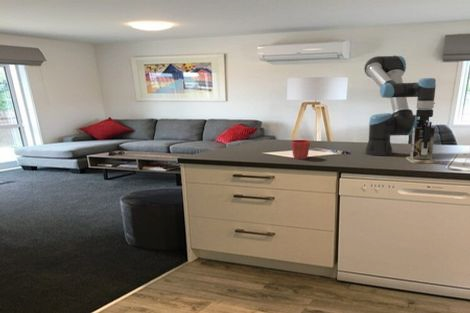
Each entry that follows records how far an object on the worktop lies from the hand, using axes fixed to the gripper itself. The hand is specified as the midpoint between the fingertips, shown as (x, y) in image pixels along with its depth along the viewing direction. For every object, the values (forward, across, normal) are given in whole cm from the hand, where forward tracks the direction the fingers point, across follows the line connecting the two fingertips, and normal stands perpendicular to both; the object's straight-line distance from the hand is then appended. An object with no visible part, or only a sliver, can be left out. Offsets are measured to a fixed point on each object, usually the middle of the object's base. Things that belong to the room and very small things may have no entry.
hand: (421, 153), depth 176 cm
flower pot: (+4, +6, +62) cm, 62 cm away
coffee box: (+3, 0, 0) cm, 3 cm away
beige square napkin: (+4, 0, 0) cm, 4 cm away
